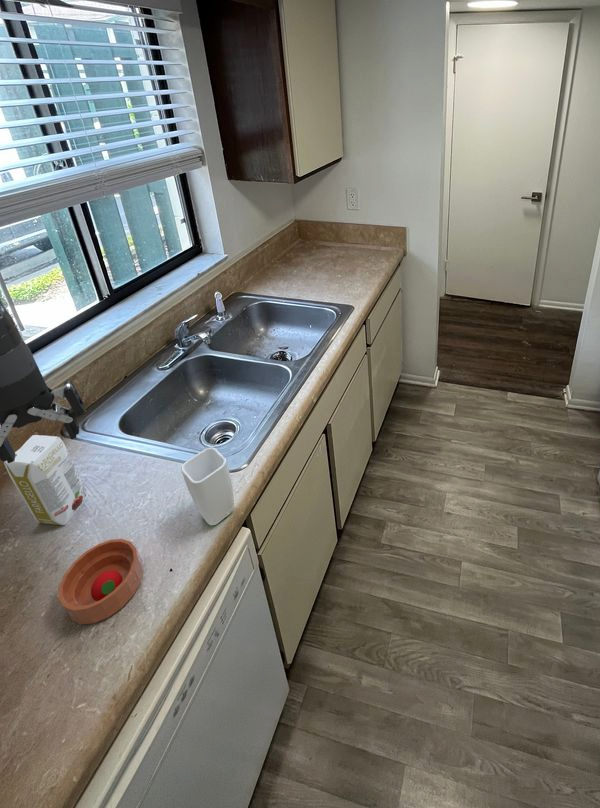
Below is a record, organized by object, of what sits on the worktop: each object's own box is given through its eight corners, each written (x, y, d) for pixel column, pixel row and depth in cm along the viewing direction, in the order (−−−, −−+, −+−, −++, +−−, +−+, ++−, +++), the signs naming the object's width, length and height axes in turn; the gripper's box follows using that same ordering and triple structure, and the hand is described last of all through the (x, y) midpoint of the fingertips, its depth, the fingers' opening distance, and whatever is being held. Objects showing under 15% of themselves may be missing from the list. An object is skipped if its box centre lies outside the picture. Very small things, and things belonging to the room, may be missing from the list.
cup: (194, 514, 95) (177, 466, 89) (224, 490, 100) (211, 444, 94) (210, 534, 91) (195, 486, 85) (242, 509, 96) (229, 462, 90)
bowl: (67, 642, 74) (57, 626, 72) (68, 578, 84) (59, 562, 82) (147, 597, 81) (140, 581, 78) (140, 542, 90) (133, 526, 88)
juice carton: (94, 494, 100) (66, 433, 92) (64, 530, 92) (30, 467, 84) (64, 491, 101) (33, 430, 93) (32, 527, 93) (-5, 464, 85)
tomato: (91, 606, 79) (93, 610, 76) (88, 577, 80) (90, 580, 77) (122, 591, 82) (126, 594, 79) (119, 563, 84) (122, 566, 80)
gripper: (61, 344, 74) (92, 416, 81) (-52, 376, 67) (-7, 452, 74) (60, 367, 68) (93, 442, 75) (-64, 404, 61) (-14, 483, 68)
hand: (43, 447), depth 75 cm, fingers open, 8 cm apart
